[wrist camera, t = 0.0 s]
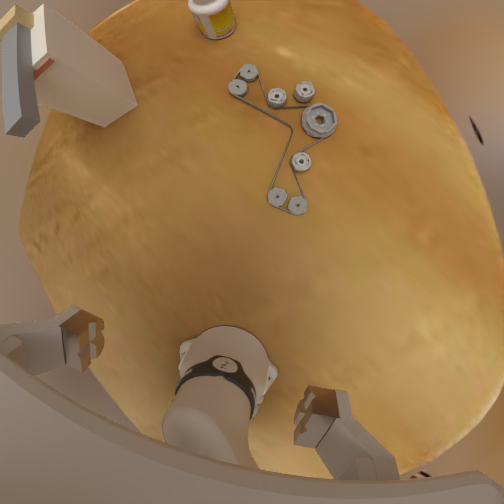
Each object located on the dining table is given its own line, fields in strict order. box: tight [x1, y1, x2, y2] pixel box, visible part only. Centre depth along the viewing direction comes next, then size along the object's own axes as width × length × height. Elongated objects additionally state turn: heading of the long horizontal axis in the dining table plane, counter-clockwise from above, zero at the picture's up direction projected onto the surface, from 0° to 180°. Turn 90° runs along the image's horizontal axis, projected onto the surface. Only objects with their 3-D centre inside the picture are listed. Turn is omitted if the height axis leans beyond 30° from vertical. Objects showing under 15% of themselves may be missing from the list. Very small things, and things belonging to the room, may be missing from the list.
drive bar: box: [0, 4, 40, 137], centre depth 19 cm, size 20×4×4 cm, turn 24°
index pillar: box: [31, 4, 138, 128], centre depth 34 cm, size 12×8×26 cm, turn 24°
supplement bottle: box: [188, 0, 236, 39], centre depth 36 cm, size 7×7×13 cm
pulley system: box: [228, 64, 338, 215], centre depth 44 cm, size 27×5×15 cm
